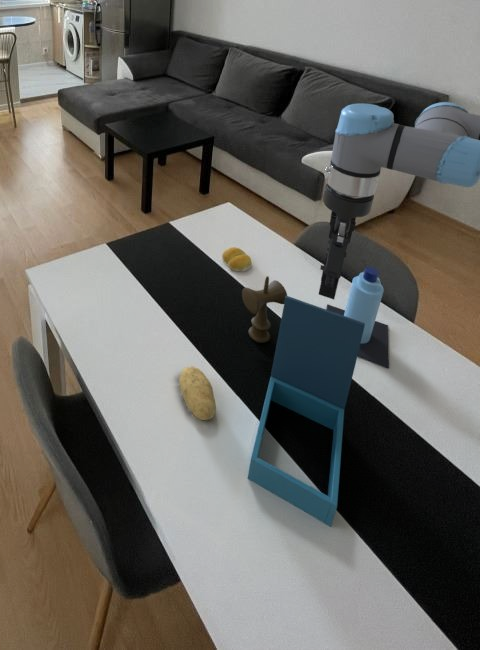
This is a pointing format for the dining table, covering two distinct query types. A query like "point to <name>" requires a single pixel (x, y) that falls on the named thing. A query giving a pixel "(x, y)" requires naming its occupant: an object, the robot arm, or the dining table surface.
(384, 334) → the mat
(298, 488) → the blue open box
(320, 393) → the lid
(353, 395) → the dining table surface
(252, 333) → the kendama
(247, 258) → the bread roll
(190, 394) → the potato
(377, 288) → the water bottle
